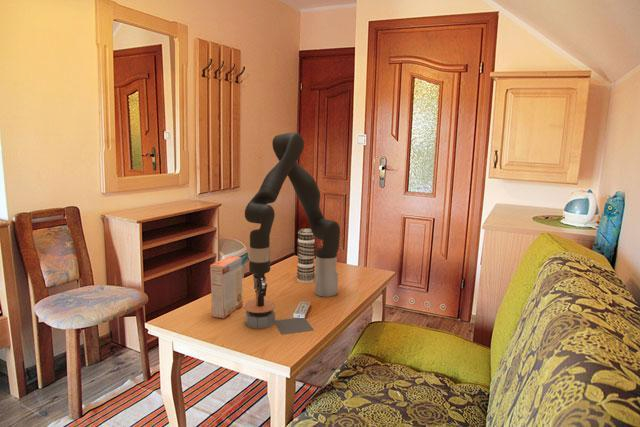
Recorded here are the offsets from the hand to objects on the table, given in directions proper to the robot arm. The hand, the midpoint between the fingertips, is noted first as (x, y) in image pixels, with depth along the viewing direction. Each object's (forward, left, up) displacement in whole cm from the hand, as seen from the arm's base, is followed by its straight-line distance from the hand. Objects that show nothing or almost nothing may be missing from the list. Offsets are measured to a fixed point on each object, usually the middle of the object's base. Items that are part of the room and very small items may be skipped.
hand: (259, 304), depth 159 cm
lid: (0, 0, -1) cm, 1 cm away
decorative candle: (-31, -43, -8) cm, 54 cm away
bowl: (0, 0, -8) cm, 8 cm away
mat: (-11, +6, -8) cm, 15 cm away
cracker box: (+10, -15, -8) cm, 20 cm away
